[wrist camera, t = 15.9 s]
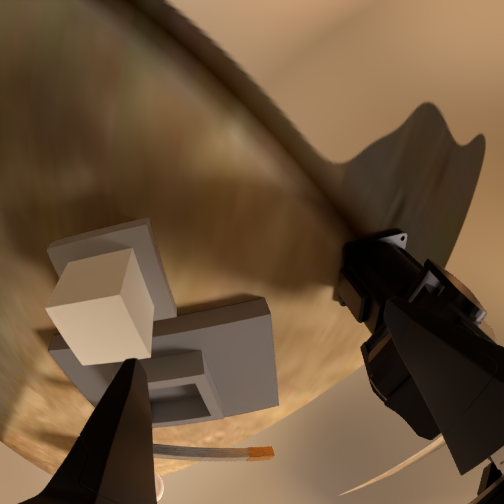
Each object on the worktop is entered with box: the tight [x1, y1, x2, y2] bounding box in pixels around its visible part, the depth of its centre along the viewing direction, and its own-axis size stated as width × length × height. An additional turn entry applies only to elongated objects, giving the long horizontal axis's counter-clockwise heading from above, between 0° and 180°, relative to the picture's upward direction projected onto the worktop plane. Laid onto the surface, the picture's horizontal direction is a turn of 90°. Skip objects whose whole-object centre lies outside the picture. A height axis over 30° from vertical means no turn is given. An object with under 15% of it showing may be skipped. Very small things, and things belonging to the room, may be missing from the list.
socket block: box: [48, 298, 279, 428], centre depth 25 cm, size 20×15×6 cm
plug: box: [45, 217, 177, 365], centre depth 16 cm, size 7×7×8 cm
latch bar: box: [153, 444, 274, 461], centre depth 25 cm, size 19×2×1 cm, turn 67°
